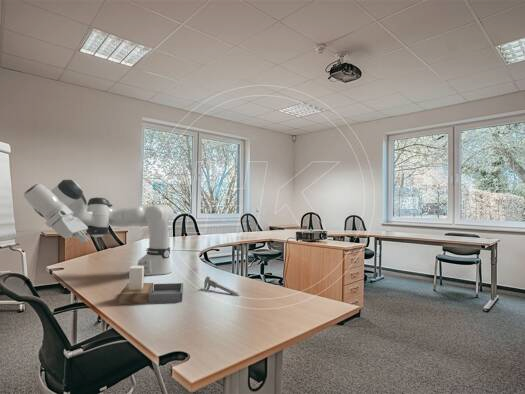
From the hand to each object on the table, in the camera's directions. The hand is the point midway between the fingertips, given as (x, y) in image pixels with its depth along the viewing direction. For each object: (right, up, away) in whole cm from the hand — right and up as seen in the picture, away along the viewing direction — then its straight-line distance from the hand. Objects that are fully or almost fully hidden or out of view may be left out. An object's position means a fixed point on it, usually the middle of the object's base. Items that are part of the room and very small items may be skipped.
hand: (86, 241), depth 131 cm
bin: (+31, -25, +7) cm, 41 cm away
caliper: (+54, -26, +16) cm, 62 cm away
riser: (+19, -25, +4) cm, 32 cm away
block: (+19, -21, +4) cm, 28 cm away
